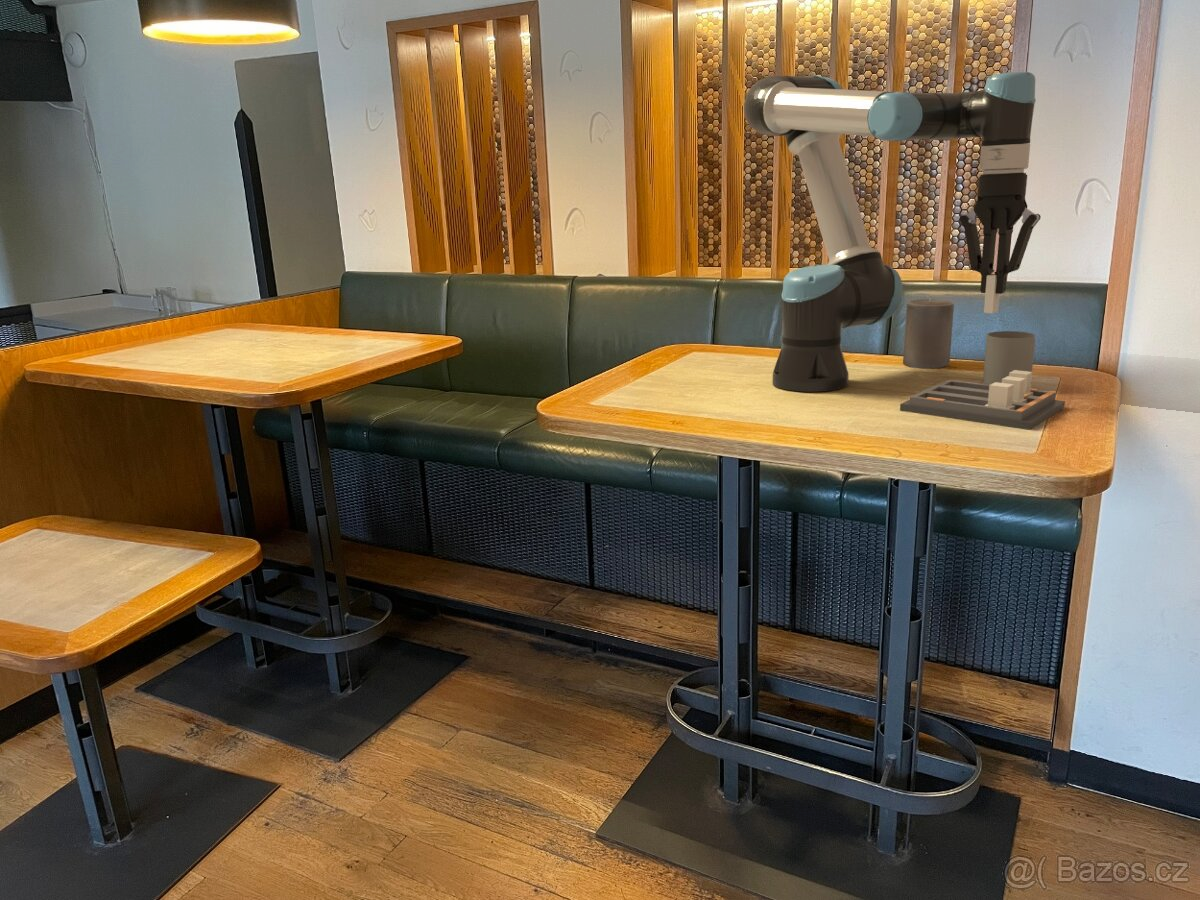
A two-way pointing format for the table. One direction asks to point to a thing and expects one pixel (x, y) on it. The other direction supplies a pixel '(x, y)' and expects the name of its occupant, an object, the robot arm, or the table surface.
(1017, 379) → the tab mid
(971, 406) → the slotted block puzzle
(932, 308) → the pillar candle
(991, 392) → the tab front
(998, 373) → the cup
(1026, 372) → the tab back
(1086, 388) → the table surface
